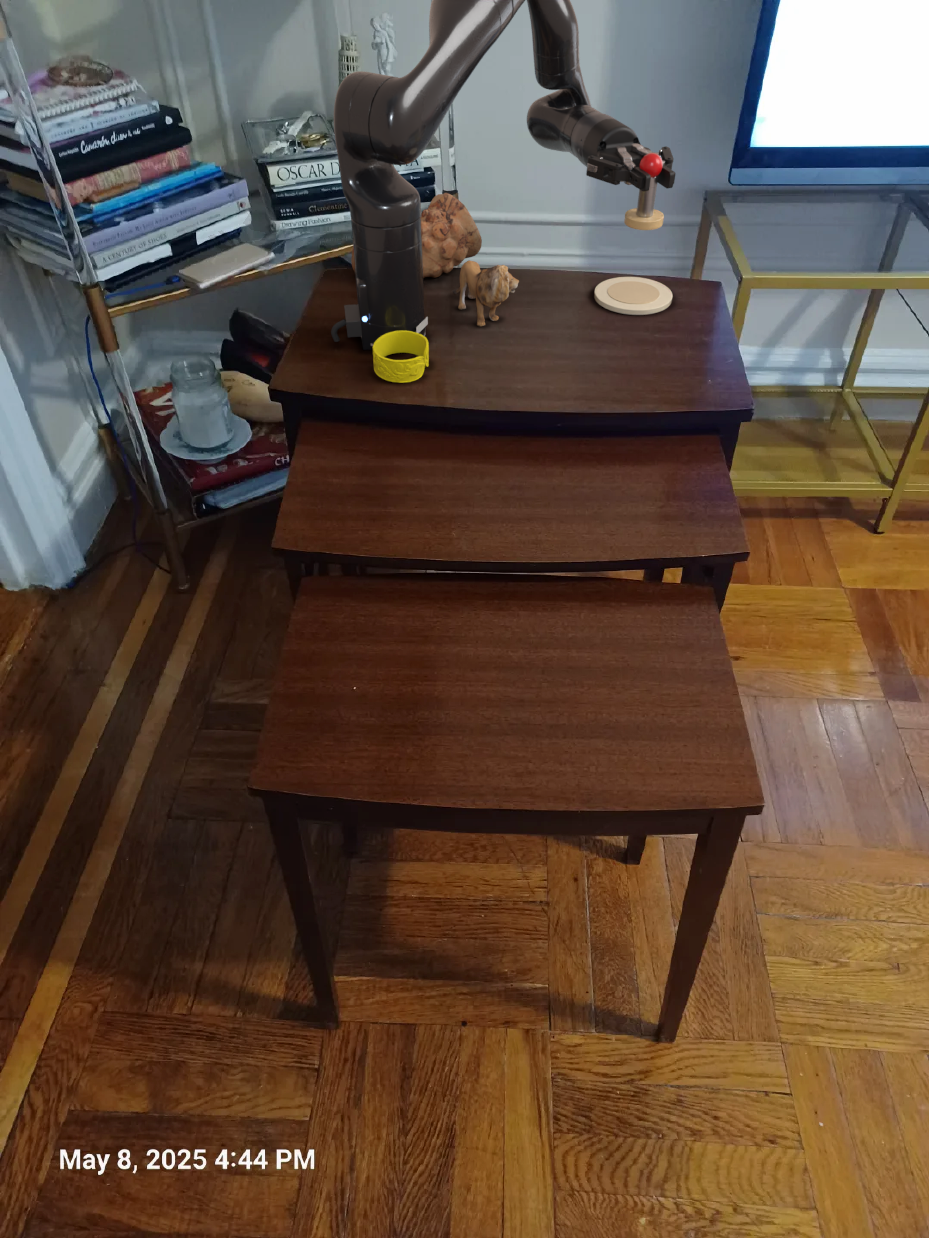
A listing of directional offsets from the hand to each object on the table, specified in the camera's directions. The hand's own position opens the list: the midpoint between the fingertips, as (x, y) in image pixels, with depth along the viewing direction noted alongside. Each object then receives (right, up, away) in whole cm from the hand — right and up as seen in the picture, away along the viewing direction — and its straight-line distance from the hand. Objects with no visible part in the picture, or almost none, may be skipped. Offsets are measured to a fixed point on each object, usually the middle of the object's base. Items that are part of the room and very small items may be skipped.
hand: (659, 182), depth 123 cm
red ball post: (-1, -3, +6) cm, 7 cm away
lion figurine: (-24, -15, +11) cm, 31 cm away
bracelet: (-36, -27, -1) cm, 45 cm away
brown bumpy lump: (-37, -8, +17) cm, 41 cm away
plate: (-1, -11, +15) cm, 18 cm away
